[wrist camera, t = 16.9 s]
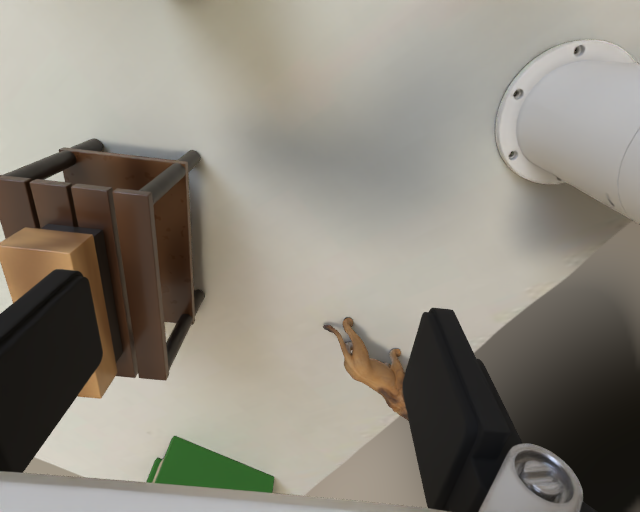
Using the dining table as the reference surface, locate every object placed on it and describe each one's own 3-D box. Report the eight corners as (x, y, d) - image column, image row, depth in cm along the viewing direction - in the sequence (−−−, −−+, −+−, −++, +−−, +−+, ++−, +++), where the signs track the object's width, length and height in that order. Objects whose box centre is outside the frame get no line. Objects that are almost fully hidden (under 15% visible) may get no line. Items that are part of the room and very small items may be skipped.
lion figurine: (430, 354, 51) (450, 411, 43) (407, 380, 53) (421, 439, 45) (333, 308, 48) (335, 360, 40) (312, 338, 50) (309, 393, 42)
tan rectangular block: (106, 223, 29) (69, 253, 25) (127, 357, 35) (101, 399, 31) (41, 216, 28) (-6, 245, 24) (74, 352, 35) (41, 393, 30)
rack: (200, 151, 39) (148, 195, 28) (205, 299, 47) (166, 380, 36) (87, 137, 38) (-14, 177, 27) (112, 290, 47) (43, 369, 36)
